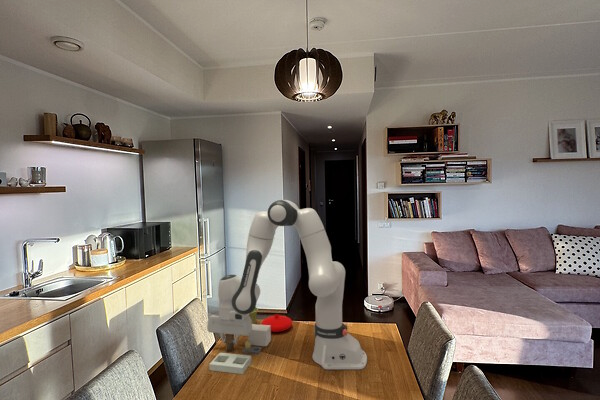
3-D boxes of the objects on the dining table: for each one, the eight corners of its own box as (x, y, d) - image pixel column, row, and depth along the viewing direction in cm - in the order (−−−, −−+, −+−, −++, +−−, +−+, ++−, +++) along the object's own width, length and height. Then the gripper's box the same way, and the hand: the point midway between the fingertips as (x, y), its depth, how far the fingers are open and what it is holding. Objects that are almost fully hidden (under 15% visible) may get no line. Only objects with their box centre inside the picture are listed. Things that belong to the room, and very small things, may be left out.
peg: (235, 348, 144) (235, 330, 143) (232, 352, 140) (231, 334, 140) (228, 347, 144) (227, 330, 144) (224, 351, 141) (224, 333, 141)
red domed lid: (255, 332, 159) (255, 318, 159) (270, 320, 174) (270, 307, 174) (284, 337, 153) (283, 323, 153) (297, 324, 168) (297, 311, 167)
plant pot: (251, 320, 174) (250, 304, 173) (262, 325, 167) (261, 309, 166) (236, 326, 167) (236, 309, 167) (247, 331, 160) (246, 314, 160)
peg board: (251, 361, 132) (251, 355, 132) (242, 374, 123) (242, 367, 123) (220, 358, 135) (220, 352, 135) (209, 370, 126) (209, 364, 126)
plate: (261, 349, 142) (261, 340, 142) (258, 354, 138) (258, 345, 138) (246, 347, 144) (246, 339, 144) (242, 352, 140) (242, 343, 140)
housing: (270, 340, 151) (270, 325, 150) (266, 346, 145) (266, 331, 145) (252, 338, 153) (252, 324, 152) (248, 344, 147) (247, 329, 147)
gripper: (204, 313, 141) (205, 344, 142) (247, 316, 136) (248, 348, 137) (211, 307, 147) (212, 337, 148) (253, 310, 143) (253, 341, 143)
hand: (229, 342), depth 142 cm, fingers closed on peg, 4 cm apart
